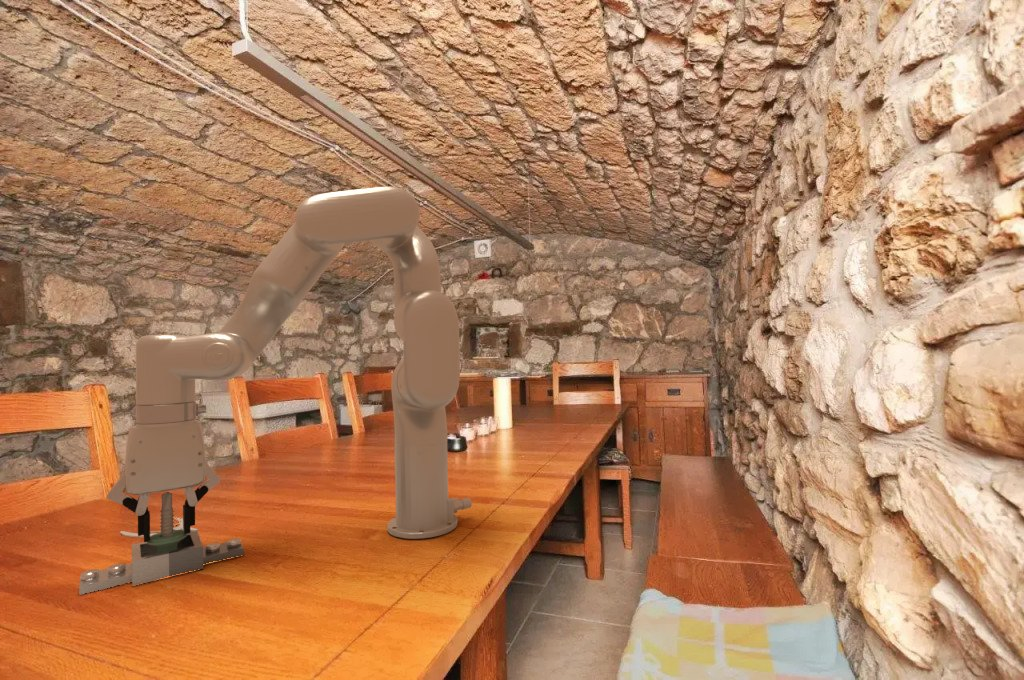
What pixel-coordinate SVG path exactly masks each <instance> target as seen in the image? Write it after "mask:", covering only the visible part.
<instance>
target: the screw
mask: <svg viewBox="0 0 1024 680" xmlns="http://www.w3.org/2000/svg"><path fill="white" fill-rule="evenodd" d="M174 512H175V511H174V507H173V493H171V492H169V491H165V492H164V493H163V494H161V510H160V512H159V513H160V530H159V531H161V532H160V533H157V534H154V535H152V536H151V537H150V540H148V542H147V544H148V545H154V546H155V547H157V554H160V553H164V552H169V551H174V550H177V543H178V542H180V540H182V539H184V538H185V537H186V536H187V534H186V533H185V532H184V531H183V530H174V529H173V527H174V526H173V525H174V524H175V523H174V521H175V520H174V518H175V517H174V516H175V514H174Z"/></svg>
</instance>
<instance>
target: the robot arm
mask: <svg viewBox="0 0 1024 680" xmlns="http://www.w3.org/2000/svg"><path fill="white" fill-rule="evenodd" d="M420 216H421V213H420V207H419V204H418V201H417V200H416V199H415V197H414V196H413V194H411V193H410V192H409V191H407V190H406V189H404V188H400V187H396V186H392V185H391V186H385V185H384V186H376V187H367V188H359V189H348V190H347V189H346V190H338V191H331V192H325V193H324V192H323V193H318V194H314V195H312V196H308V197H307V198H305V199H303V201H301V203H300V204H299V205H298V207H297V208H296V212H295V215H294V222H293V224H292V225H291V226H290V227H289V229H288V230H287V231H286V232H285V233H284V234H283V236H282V238H281V239H280V240H279V241H278V242H277V244H276V245H275V246H274V247H273V248H272V249H271V250H270V252H269V253H268V255H266V257H265V258H264V259H263V260H262V262H261V263H259V264H258V266H257V267H256V269H255V270H254V271H253V274H252V275H251V278H250V280H249V284H248V287H247V289H246V292H245V294H244V297H243V299H242V300H241V302H240V304H239V305H238V307H237V308H236V309H235V311H234V313H233V314H232V315H231V317H229V319H228V320H227V321H226V323H225V324H223V326H222V328H221V329H220V330H219V331H218V332H211V333H203V334H201V333H200V334H194V335H193V334H192V335H186V334H184V335H183V334H168V333H167V334H146V335H143V336H141V337H139V339H138V340H137V341H136V344H135V425H131V426H130V427H129V429H128V433H127V440H126V445H125V447H126V448H125V459H124V460H125V461H124V472H123V474H122V475H121V477H120V478H118V480H117V481H116V482H115V483H114V485H113V486H112V487H111V488H110V490H109V491H108V493H107V495H106V498H107V499H108V500H109V501H112V502H113V503H117V504H120V505H122V506H123V507H125V508H127V509H128V510H129V511H131V512H133V513H134V514H135V515H136V516H137V533H138V536H141V535H144V538H143V542H148V540H150V532H151V514H150V510H149V507H148V505H149V504H148V503H149V500H150V497H151V494H155V493H161V492H169V491H175V490H181V489H183V491H184V492H183V493H184V495H185V497H186V498H185V500H184V504H183V505H182V509H183V510H182V519H183V529H184V532H185V533H186V534H188V533H190V527H192V526H195V525H196V506H197V505H198V503H199V502H200V501H201V500H202V498H203V497H205V495H207V494H208V492H209V491H210V490H212V489H213V488H214V487H216V486H217V485H218V484H220V482H221V480H222V479H221V477H220V476H219V475H218V474H217V473H216V472H215V470H214V469H212V467H210V465H209V464H208V463H207V457H206V449H205V448H206V445H205V444H206V443H205V440H204V439H205V438H204V431H203V426H202V423H201V421H200V420H197V417H198V416H199V415H201V414H206V413H207V405H206V404H198V403H197V402H196V380H206V381H216V382H217V381H221V382H222V381H227V380H231V379H234V378H237V377H239V376H241V375H243V374H244V373H246V372H247V371H248V370H249V368H250V367H251V366H252V365H253V363H254V362H256V359H257V358H258V357H259V356H260V354H262V352H263V351H264V349H265V348H266V346H268V344H269V343H270V342H271V341H272V339H273V338H274V336H275V335H276V334H277V333H278V331H279V330H280V328H282V325H283V324H284V323H286V321H287V319H288V318H289V317H290V316H291V315H292V314H293V313H294V312H295V311H296V310H297V309H298V306H299V305H300V304H301V302H302V301H303V300H304V299H305V297H306V296H307V295H308V293H309V292H310V291H311V290H312V288H313V287H314V285H315V284H316V283H317V282H318V280H319V279H320V277H322V275H323V274H324V272H325V271H326V270H327V269H328V268H329V267H330V265H331V264H332V262H333V261H334V260H335V258H336V257H337V256H338V255H339V254H340V252H341V251H342V249H343V248H344V246H345V245H346V244H355V243H356V244H357V243H362V242H363V243H364V242H370V243H371V244H373V246H375V247H377V248H378V249H380V250H381V251H382V252H384V254H386V255H387V257H388V258H389V260H390V263H391V266H392V270H393V271H392V273H393V283H394V311H393V313H394V315H393V316H394V317H393V325H394V329H395V332H396V335H397V336H398V338H399V339H400V340H401V341H402V343H403V344H402V345H403V346H402V347H403V349H402V350H403V359H402V360H400V362H399V363H397V365H396V366H395V368H394V370H393V372H392V376H391V383H390V384H391V385H390V389H391V399H392V400H391V401H392V409H393V410H392V411H393V424H394V427H393V428H394V477H395V479H394V481H395V482H394V483H395V490H394V491H395V517H393V518H391V519H390V520H388V522H387V526H386V527H387V528H386V529H387V532H388V533H389V534H390V535H391V536H393V537H396V538H400V539H409V540H410V539H411V540H419V539H420V540H422V539H429V538H434V537H436V538H437V537H439V536H442V535H446V534H448V533H451V532H452V531H454V530H455V529H456V527H457V526H458V517H457V516H456V513H458V511H459V510H466V509H470V508H472V499H471V498H470V497H465V498H461V499H459V498H458V497H453V498H452V497H449V470H448V468H449V466H448V465H449V463H448V461H449V459H448V457H449V456H448V424H447V421H448V420H447V412H446V406H447V405H449V404H451V402H452V401H453V400H454V398H455V397H456V395H457V392H458V390H459V386H460V380H461V356H460V355H461V354H460V353H461V351H460V350H461V349H460V321H459V316H458V312H457V310H456V307H455V305H454V303H453V301H452V300H451V299H450V298H449V297H448V295H446V294H444V293H443V292H442V282H441V281H442V280H441V271H440V267H441V266H440V262H439V261H440V260H439V256H438V253H437V251H436V248H435V246H434V244H433V243H432V241H431V240H430V238H429V237H428V236H427V235H426V234H425V232H424V231H423V230H422V229H421V228H420V227H419V226H418V225H419V222H420ZM206 478H207V480H206ZM202 483H203V484H202ZM196 486H198V487H197V488H196V489H195V488H194V487H196ZM124 490H126V493H128V494H129V495H127V494H126V493H123V491H124ZM131 495H134V496H137V499H136V498H134V497H133V496H131Z"/></svg>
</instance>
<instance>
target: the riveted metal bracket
mask: <svg viewBox="0 0 1024 680" xmlns="http://www.w3.org/2000/svg"><path fill="white" fill-rule="evenodd" d="M244 552H245V548H244V547H243V545H242V538H238V537H236V538H232V539H229V540H227V541H226V542H221V543H220V542H214V543H213V542H212V543H209V544H206V545H205V546H203V542H202V541H201V538H200V535H199V532H198V533H197V531H196V532H191V533H188V534H187V536H186V537H185V538H184V539H182V540H180V542H178V543H177V550H174V551H169V552H164V553H160V554H157V547H155V546H154V545H148V544H147V542H144V541H142V542H136V543H131V562H130V563H122V562H121V563H115V564H113V565H110V566H109V567H107V568H104V569H98V568H94V569H88V570H85V571H82V572H81V573H80V581H79V588H78V594H79V595H78V596H81V595H86V594H85V593H87V594H90V592H91V593H94V591H95V592H99V591H103V590H107V588H108V589H111V588H110V587H112V588H115V587H114V586H116V585H120V586H122V585H121V584H124V583H128V582H131V581H132V583H131V584H132V585H131V586H134V585H137V584H141V583H146V582H150V581H154V580H157V579H160V578H164V577H167V576H172V575H176V574H180V573H185V572H189V571H194V570H198V569H203V570H204V566H203V564H206V563H209V562H213V561H219V560H223V559H227V558H231V557H236V556H241V555H244V556H245V553H244ZM241 557H242V556H241ZM128 584H129V583H128ZM146 584H147V583H146ZM124 585H125V584H124ZM116 587H117V586H116ZM134 587H135V586H134ZM98 590H99V591H98Z"/></svg>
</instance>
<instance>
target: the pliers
mask: <svg viewBox="0 0 1024 680" xmlns="http://www.w3.org/2000/svg"><path fill="white" fill-rule="evenodd" d="M173 518H174V519H176V518H177V516H176V518H175V517H173ZM180 518H181V519H180ZM176 520H178V521H179V523H178V522H177V523H174V524H173V526H175V525H177V524H180V525H179V526H177V527H174V528H173V529H174V530H183V531H184V529H183V517H178V518H177V519H176ZM180 521H181V522H180ZM196 531H197V533H198V534H199V529H198V528H195V527H192V526H190V533H191V532H196ZM155 532H161V531H160V530H153V531H150V533H151V534H150V537H151V536H152V535H154V534H157V533H155ZM120 533H121V534H122V535H125V536H129V537H144V535H141V536H138V532H137V533H136V532H130V531H124V530H121V531H119V534H120ZM121 534H120V535H121ZM122 535H121V536H122Z"/></svg>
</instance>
